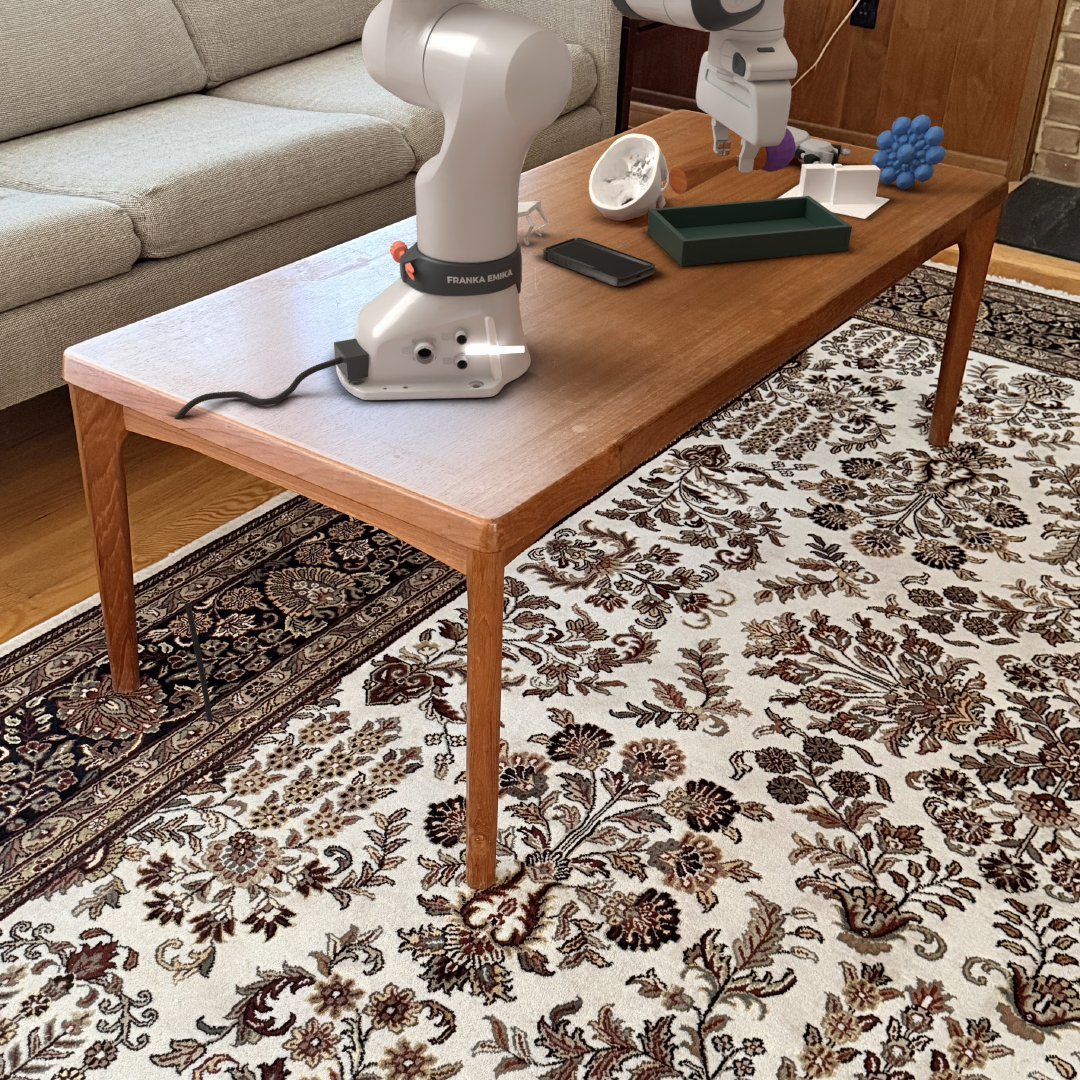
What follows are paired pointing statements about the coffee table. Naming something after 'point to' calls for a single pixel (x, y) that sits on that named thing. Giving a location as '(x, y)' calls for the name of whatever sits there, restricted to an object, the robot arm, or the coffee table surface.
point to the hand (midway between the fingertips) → (732, 162)
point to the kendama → (732, 165)
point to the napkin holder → (840, 188)
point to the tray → (747, 230)
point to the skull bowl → (629, 178)
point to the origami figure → (526, 209)
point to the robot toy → (815, 149)
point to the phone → (599, 261)
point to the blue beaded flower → (909, 151)
